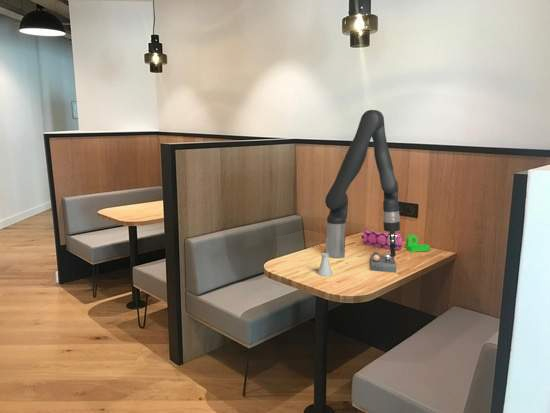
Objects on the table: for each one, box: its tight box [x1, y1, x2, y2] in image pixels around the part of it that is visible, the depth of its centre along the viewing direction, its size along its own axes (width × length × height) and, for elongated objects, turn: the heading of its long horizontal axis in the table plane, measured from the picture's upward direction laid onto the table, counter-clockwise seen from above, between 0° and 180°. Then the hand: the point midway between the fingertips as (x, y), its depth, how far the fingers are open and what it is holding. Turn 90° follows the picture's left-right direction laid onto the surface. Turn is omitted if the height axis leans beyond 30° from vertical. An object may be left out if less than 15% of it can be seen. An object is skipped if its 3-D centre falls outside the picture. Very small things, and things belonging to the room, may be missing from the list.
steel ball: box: [383, 252, 391, 260], centre depth 208 cm, size 3×3×3 cm
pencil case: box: [361, 227, 403, 251], centre depth 240 cm, size 21×10×10 cm, turn 57°
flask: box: [316, 252, 333, 277], centre depth 193 cm, size 7×7×10 cm
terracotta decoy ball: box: [373, 254, 380, 261], centre depth 206 cm, size 3×3×3 cm
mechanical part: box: [405, 233, 431, 253], centre depth 236 cm, size 12×6×8 cm, turn 101°
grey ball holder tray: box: [370, 254, 398, 273], centre depth 208 cm, size 11×18×4 cm, turn 169°
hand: (393, 256), depth 208 cm, fingers closed
